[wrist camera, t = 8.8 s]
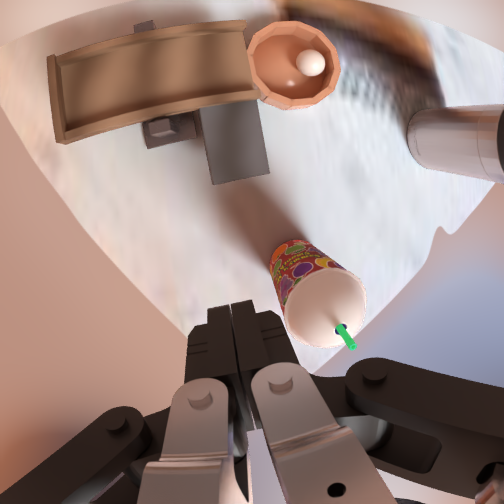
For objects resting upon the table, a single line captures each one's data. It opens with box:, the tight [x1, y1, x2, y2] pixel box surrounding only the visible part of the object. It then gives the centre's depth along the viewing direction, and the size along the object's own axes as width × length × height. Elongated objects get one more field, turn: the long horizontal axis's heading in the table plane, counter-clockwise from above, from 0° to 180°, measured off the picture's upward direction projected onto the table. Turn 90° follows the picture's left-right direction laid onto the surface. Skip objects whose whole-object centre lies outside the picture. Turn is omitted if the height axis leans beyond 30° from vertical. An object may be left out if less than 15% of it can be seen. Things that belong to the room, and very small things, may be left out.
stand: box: [134, 20, 197, 149], centre depth 29 cm, size 6×14×8 cm, turn 10°
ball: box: [296, 49, 325, 76], centre depth 32 cm, size 4×4×4 cm
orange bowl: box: [247, 21, 341, 110], centre depth 32 cm, size 11×11×4 cm
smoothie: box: [270, 240, 367, 350], centre depth 32 cm, size 8×8×20 cm
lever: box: [47, 20, 270, 185], centre depth 27 cm, size 20×17×5 cm
